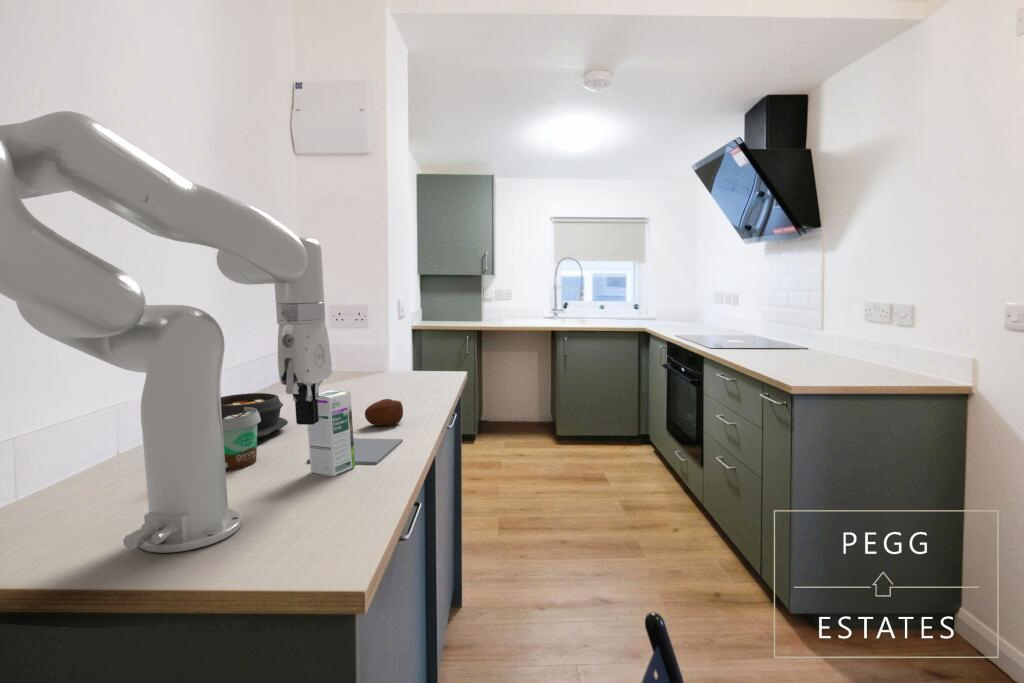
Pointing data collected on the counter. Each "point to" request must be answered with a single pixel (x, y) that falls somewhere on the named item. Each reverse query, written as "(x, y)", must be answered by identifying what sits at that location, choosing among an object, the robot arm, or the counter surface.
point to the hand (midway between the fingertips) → (307, 423)
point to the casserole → (265, 406)
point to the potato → (384, 412)
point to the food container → (240, 438)
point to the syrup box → (332, 435)
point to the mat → (372, 449)
